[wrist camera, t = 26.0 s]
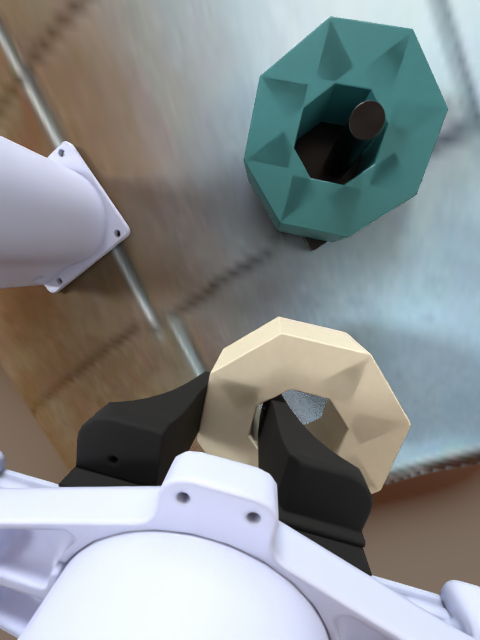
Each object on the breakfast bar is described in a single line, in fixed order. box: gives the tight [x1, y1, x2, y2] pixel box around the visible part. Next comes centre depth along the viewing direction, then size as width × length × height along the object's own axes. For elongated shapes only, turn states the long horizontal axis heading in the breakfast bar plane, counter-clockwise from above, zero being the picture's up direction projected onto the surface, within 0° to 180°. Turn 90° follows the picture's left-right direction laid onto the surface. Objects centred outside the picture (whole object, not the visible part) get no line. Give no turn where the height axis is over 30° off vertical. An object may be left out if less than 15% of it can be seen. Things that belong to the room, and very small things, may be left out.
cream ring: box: [197, 317, 411, 494], centre depth 13 cm, size 10×10×3 cm
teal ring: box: [244, 16, 448, 242], centre depth 14 cm, size 10×10×3 cm
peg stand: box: [294, 100, 422, 251], centre depth 14 cm, size 8×8×6 cm
